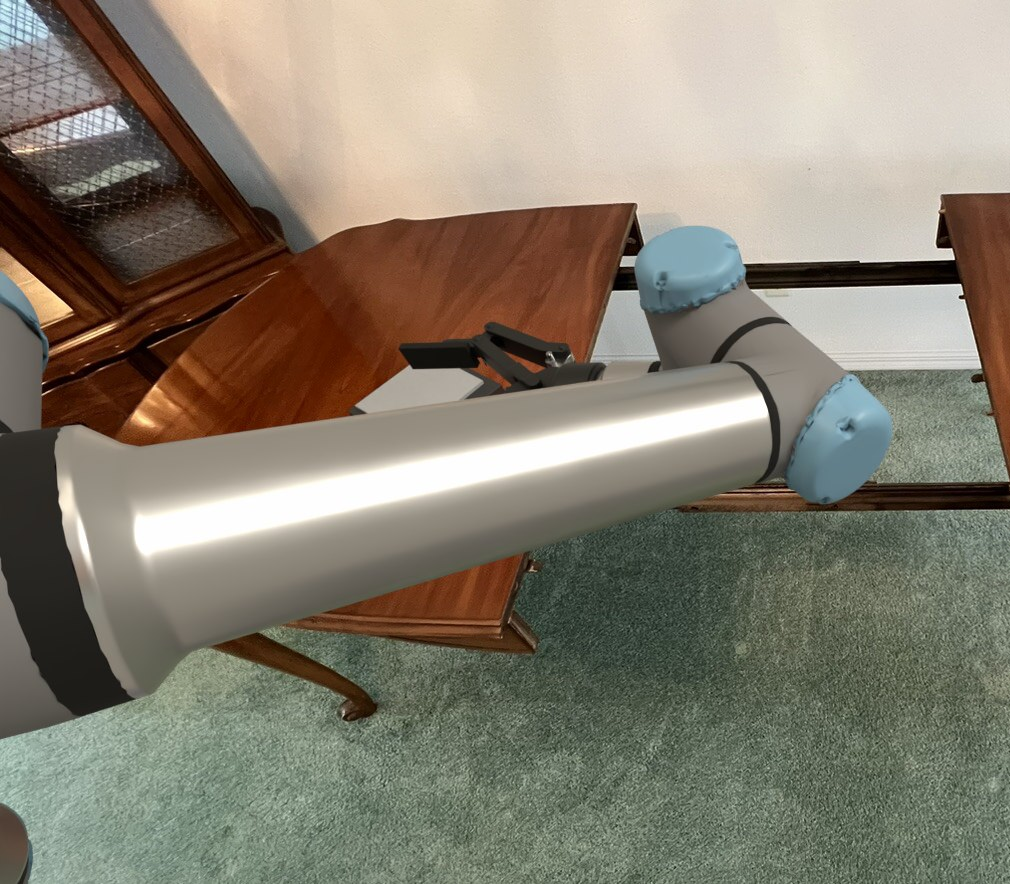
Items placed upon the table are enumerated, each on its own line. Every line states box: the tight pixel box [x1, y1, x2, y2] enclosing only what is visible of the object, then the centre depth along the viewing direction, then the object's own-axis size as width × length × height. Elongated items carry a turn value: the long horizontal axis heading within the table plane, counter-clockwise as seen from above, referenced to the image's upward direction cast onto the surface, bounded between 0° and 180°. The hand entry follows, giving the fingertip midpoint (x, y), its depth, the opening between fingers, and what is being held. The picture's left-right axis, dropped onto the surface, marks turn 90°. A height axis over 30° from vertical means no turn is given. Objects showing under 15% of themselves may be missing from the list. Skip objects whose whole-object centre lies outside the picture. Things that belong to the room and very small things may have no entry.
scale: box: [347, 364, 505, 416], centre depth 91 cm, size 14×15×3 cm
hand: (375, 409), depth 59 cm, fingers open, 13 cm apart
